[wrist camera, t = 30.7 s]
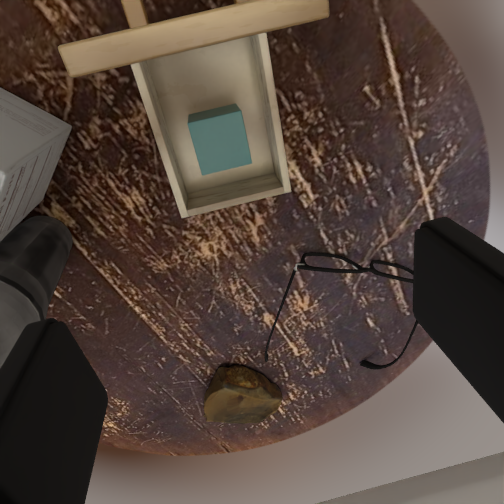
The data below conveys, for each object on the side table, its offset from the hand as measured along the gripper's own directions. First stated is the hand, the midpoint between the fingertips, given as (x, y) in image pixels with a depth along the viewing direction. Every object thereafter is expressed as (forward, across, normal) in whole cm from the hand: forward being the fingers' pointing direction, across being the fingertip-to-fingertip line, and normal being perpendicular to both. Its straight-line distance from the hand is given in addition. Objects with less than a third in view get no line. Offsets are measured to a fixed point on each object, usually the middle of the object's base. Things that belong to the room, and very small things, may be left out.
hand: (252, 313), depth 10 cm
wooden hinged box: (+25, -1, -1) cm, 25 cm away
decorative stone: (+25, +4, +32) cm, 41 cm away
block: (+24, -1, 0) cm, 24 cm away
